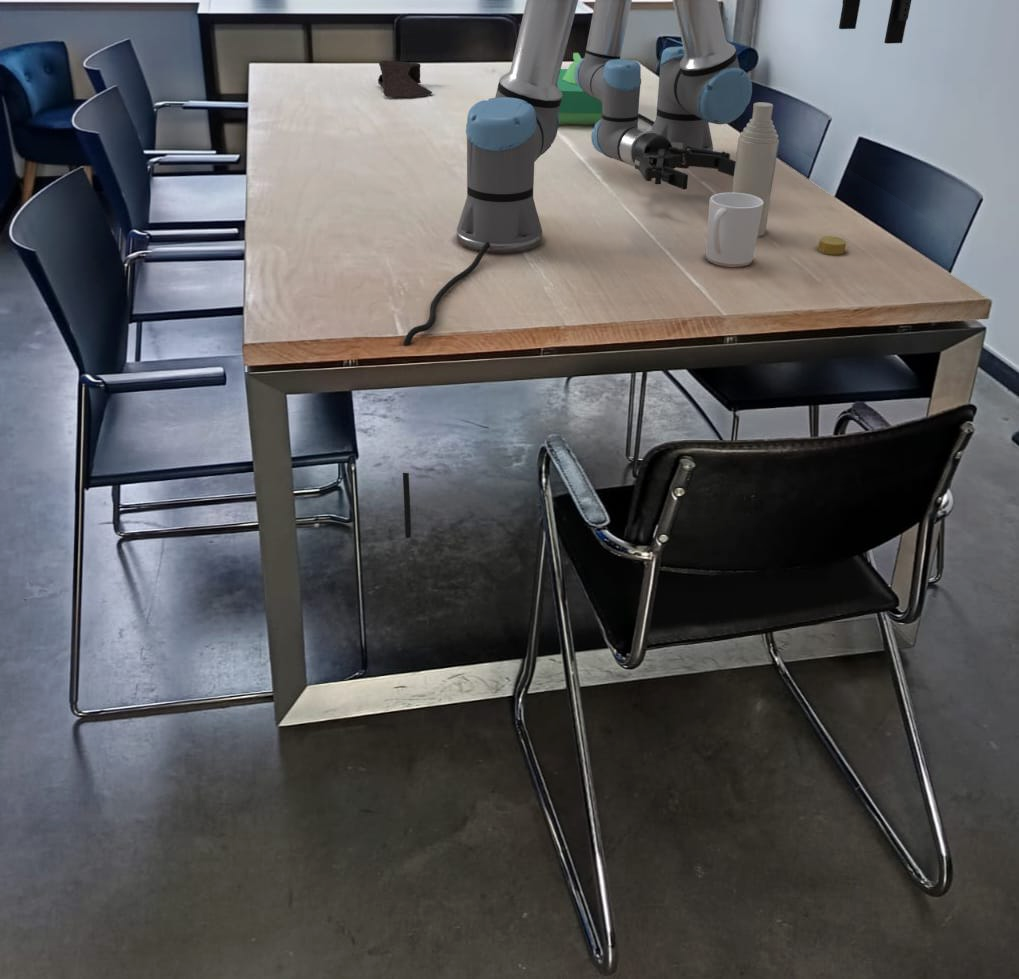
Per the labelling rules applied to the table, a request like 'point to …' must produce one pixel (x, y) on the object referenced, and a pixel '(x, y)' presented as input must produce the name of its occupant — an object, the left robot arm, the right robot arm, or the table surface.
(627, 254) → the table surface
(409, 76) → the axe head
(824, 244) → the cap
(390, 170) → the table surface
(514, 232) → the left robot arm
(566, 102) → the toy tank
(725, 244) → the mug
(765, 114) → the bottle
